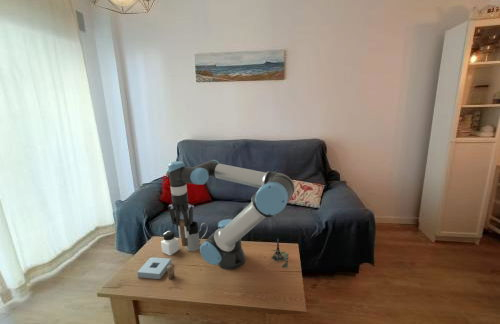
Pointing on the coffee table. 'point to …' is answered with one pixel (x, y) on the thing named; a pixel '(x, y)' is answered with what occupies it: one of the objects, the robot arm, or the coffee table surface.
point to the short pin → (170, 271)
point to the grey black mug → (194, 237)
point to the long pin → (183, 233)
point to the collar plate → (152, 272)
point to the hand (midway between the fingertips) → (184, 236)
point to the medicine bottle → (169, 243)
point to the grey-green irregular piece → (280, 256)
